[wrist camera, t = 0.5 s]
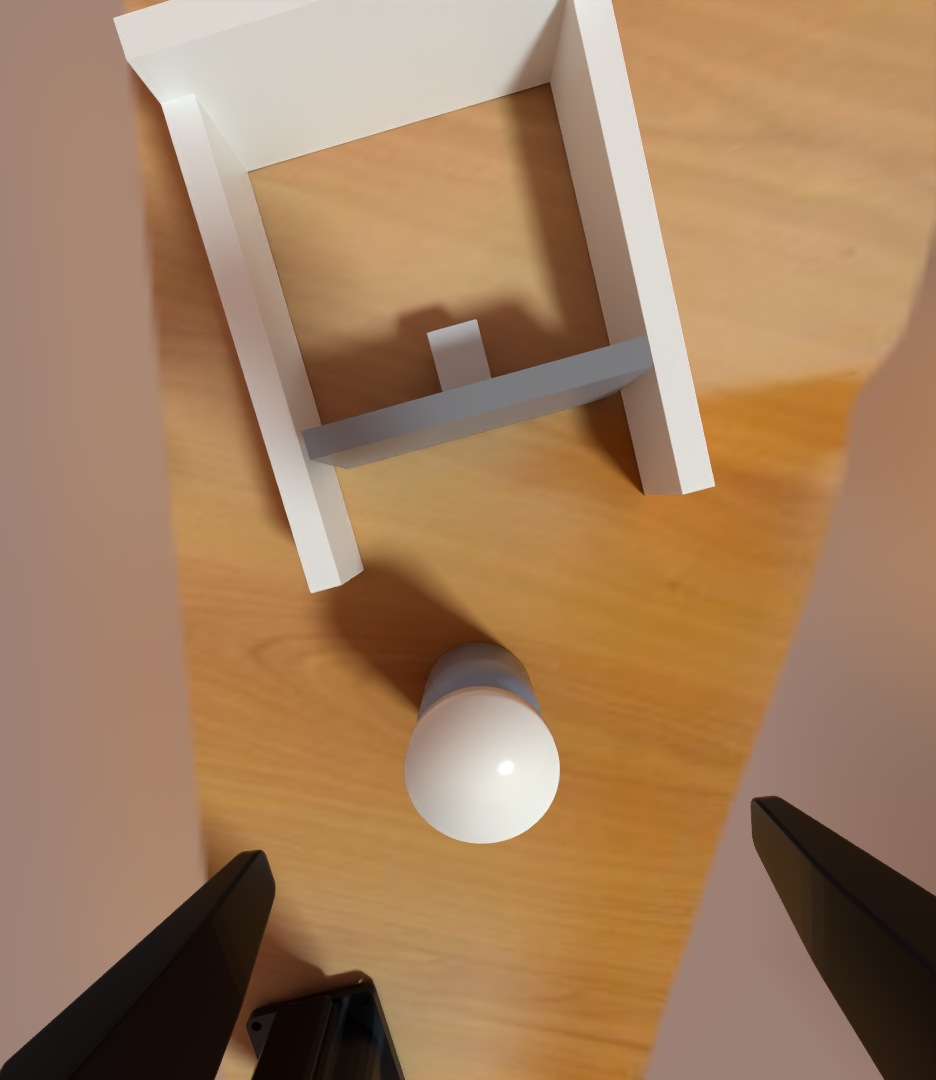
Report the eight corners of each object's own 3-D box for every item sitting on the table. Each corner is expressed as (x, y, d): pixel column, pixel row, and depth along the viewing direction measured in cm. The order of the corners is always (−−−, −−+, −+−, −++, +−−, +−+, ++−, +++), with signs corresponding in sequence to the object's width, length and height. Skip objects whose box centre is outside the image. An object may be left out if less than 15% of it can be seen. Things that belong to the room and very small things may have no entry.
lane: (671, 488, 19) (740, 484, 14) (338, 576, 20) (294, 602, 15) (571, 42, 18) (611, -137, 13) (211, 149, 18) (113, 17, 13)
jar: (546, 731, 21) (576, 822, 15) (439, 758, 21) (427, 859, 15) (518, 627, 20) (538, 679, 14) (409, 655, 20) (385, 718, 14)
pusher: (610, 397, 19) (653, 365, 14) (346, 469, 19) (310, 460, 15) (588, 303, 18) (625, 241, 14) (320, 377, 19) (274, 341, 14)
